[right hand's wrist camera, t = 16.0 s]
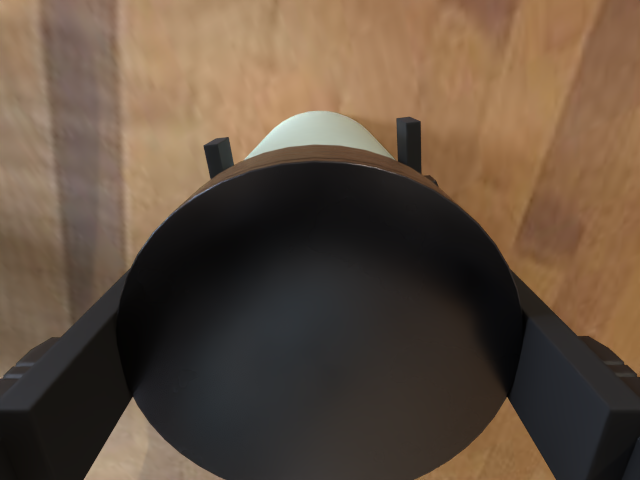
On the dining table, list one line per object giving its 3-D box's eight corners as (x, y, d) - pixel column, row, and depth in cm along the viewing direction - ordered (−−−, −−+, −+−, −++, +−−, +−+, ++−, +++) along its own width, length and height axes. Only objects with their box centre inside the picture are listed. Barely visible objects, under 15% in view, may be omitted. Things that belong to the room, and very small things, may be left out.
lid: (235, 68, 10) (211, 65, 8) (559, 251, 12) (613, 290, 10) (108, 367, 14) (66, 423, 11) (375, 473, 15) (384, 538, 13)
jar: (290, 83, 27) (225, 91, 8) (413, 154, 28) (581, 287, 10) (230, 207, 30) (91, 407, 12) (345, 264, 32) (378, 515, 13)
